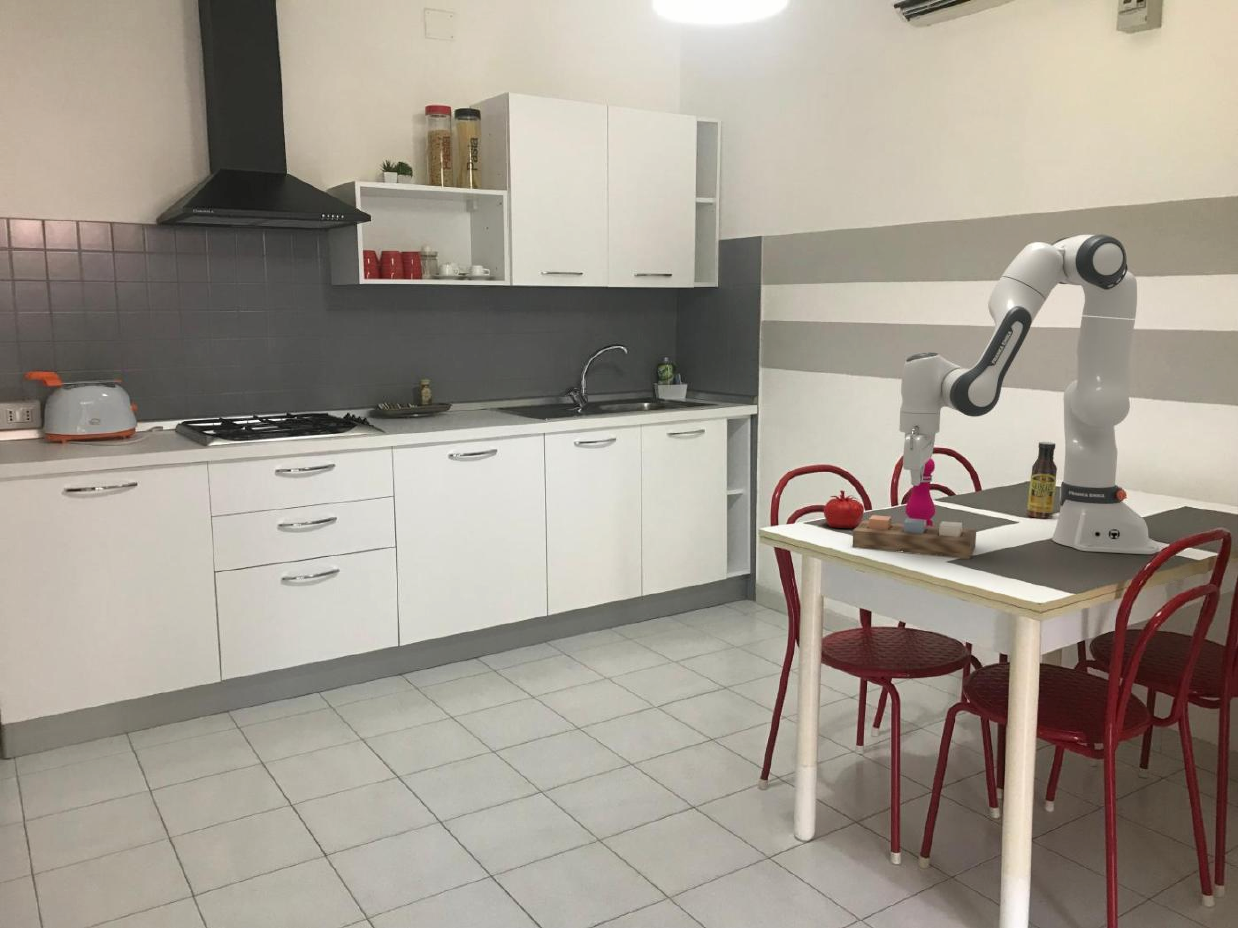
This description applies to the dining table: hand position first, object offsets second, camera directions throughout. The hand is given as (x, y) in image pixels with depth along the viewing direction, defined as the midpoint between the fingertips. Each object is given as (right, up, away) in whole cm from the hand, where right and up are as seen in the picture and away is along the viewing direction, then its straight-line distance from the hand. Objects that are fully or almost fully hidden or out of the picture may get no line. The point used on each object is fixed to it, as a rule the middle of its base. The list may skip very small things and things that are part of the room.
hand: (916, 483), depth 232 cm
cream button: (+7, -13, -1) cm, 15 cm away
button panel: (0, -15, +2) cm, 15 cm away
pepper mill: (+7, -12, +22) cm, 26 cm away
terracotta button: (-7, -12, +5) cm, 15 cm away
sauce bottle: (+43, -10, +34) cm, 55 cm away
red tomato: (-12, -12, +24) cm, 29 cm away
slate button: (0, -12, +2) cm, 12 cm away
